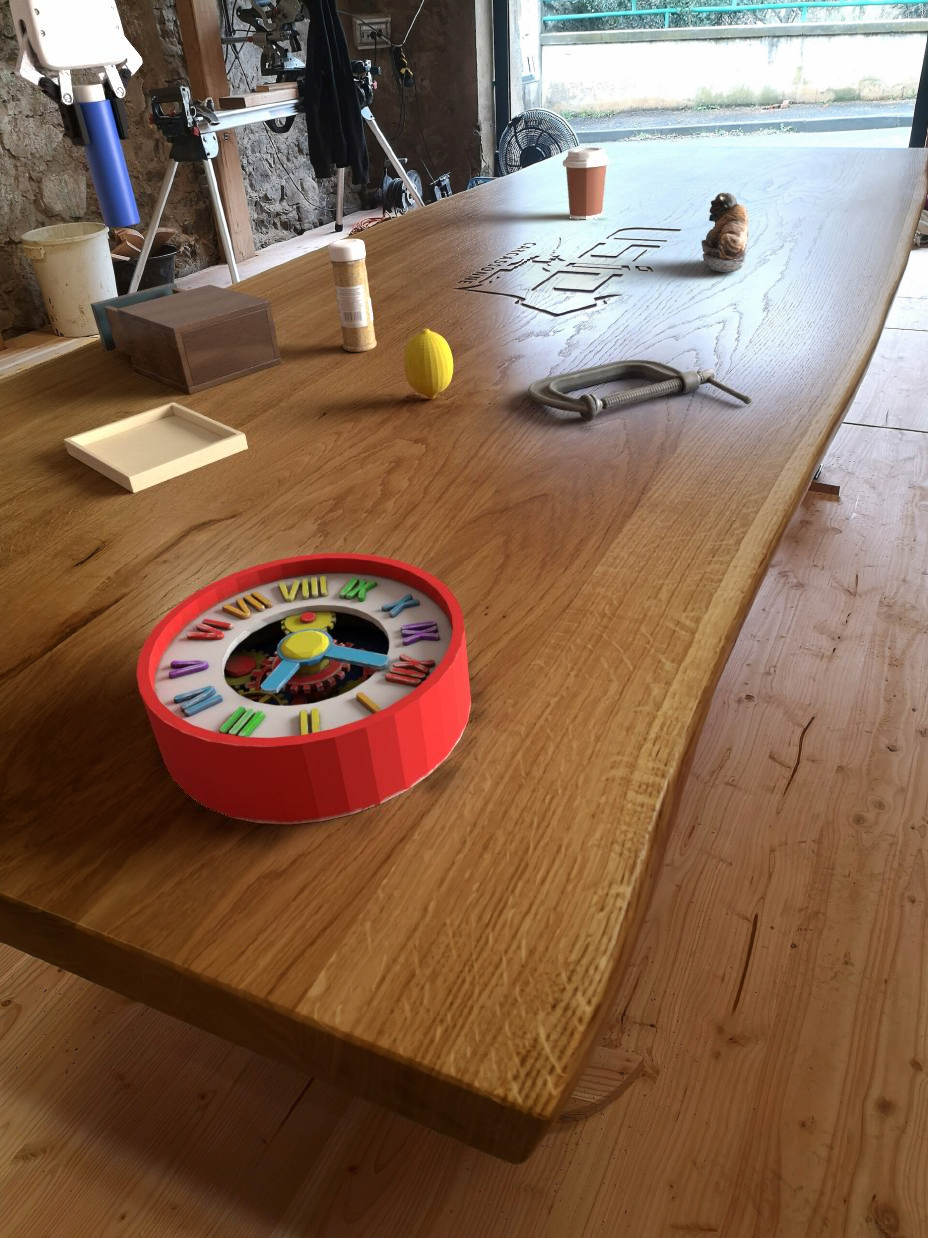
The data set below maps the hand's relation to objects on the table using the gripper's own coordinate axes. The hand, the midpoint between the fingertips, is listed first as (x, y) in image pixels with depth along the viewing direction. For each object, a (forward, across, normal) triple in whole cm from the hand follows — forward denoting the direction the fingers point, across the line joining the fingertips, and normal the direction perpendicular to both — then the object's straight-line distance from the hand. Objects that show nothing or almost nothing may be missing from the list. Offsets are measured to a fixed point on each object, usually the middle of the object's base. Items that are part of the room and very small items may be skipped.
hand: (100, 139), depth 100 cm
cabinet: (+27, -6, +1) cm, 28 cm away
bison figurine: (+28, -81, +32) cm, 91 cm away
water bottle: (+9, 0, 0) cm, 9 cm away
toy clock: (+28, +28, +68) cm, 79 cm away
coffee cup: (+28, -103, -13) cm, 107 cm away
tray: (+27, +13, +21) cm, 37 cm away
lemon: (+28, -15, +34) cm, 47 cm away
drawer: (+26, -6, -11) cm, 29 cm away
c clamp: (+28, -28, +53) cm, 66 cm away
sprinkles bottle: (+28, -22, +12) cm, 38 cm away
